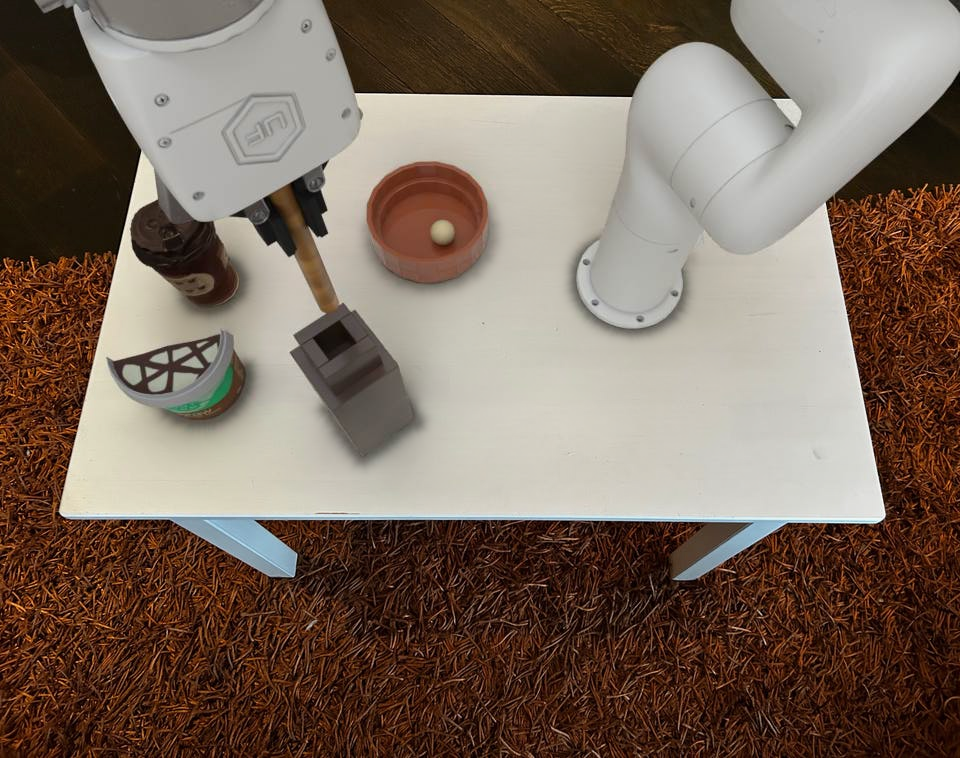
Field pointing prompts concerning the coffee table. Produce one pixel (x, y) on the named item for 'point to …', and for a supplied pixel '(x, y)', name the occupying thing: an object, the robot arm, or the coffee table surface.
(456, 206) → the bowl
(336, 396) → the holder
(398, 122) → the coffee table surface
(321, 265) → the stick
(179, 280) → the coffee cup
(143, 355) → the food container
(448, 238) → the dough ball
